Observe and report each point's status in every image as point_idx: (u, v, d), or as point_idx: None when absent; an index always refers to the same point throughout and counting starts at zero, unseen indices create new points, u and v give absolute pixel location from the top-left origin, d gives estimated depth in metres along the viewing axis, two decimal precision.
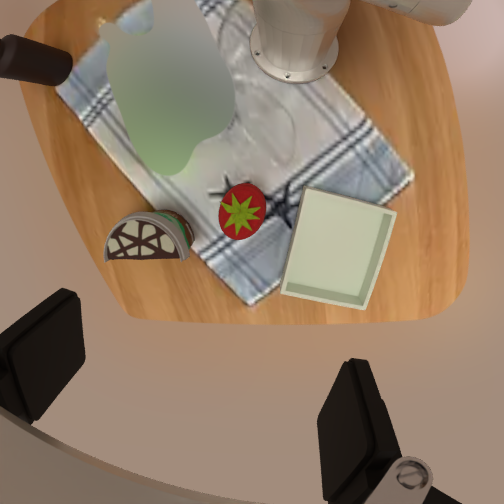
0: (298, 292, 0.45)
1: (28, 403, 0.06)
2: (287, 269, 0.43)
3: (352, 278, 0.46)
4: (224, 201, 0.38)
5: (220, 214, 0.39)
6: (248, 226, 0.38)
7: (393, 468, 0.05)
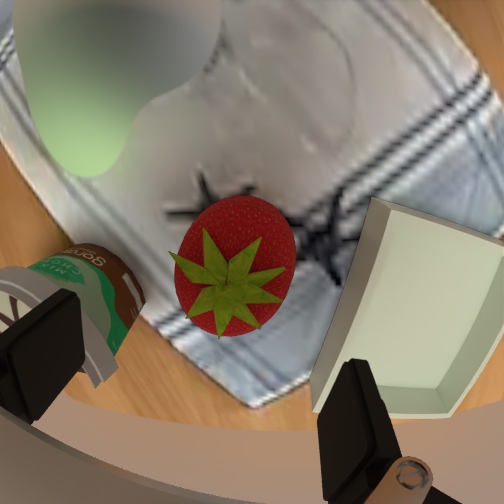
0: None
1: (28, 403, 0.06)
2: (331, 376, 0.19)
3: (434, 364, 0.22)
4: (185, 247, 0.14)
5: (177, 279, 0.15)
6: (250, 319, 0.14)
7: (393, 468, 0.05)
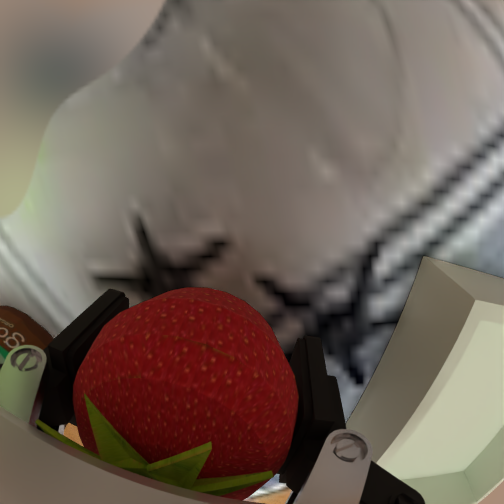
0: None
1: None
2: None
3: (467, 451, 0.14)
4: (76, 398, 0.06)
5: None
6: None
7: (329, 438, 0.06)
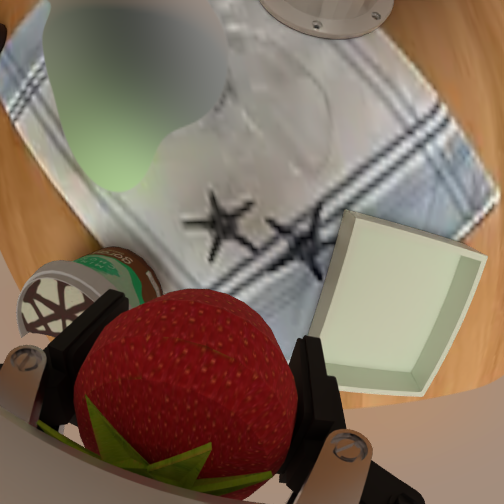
0: None
1: None
2: None
3: (406, 349, 0.28)
4: (77, 399, 0.06)
5: None
6: None
7: (329, 438, 0.06)
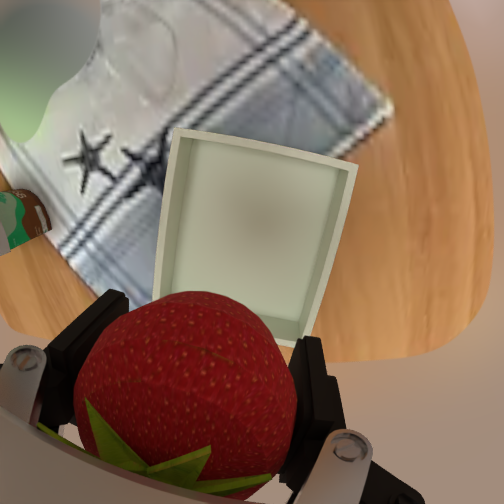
0: None
1: None
2: (156, 274, 0.24)
3: (284, 291, 0.27)
4: (77, 401, 0.06)
5: None
6: None
7: (329, 438, 0.06)
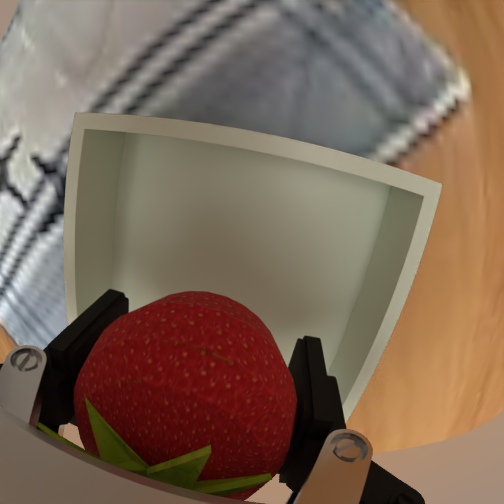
0: None
1: None
2: None
3: None
4: (77, 401, 0.06)
5: None
6: None
7: (329, 438, 0.06)
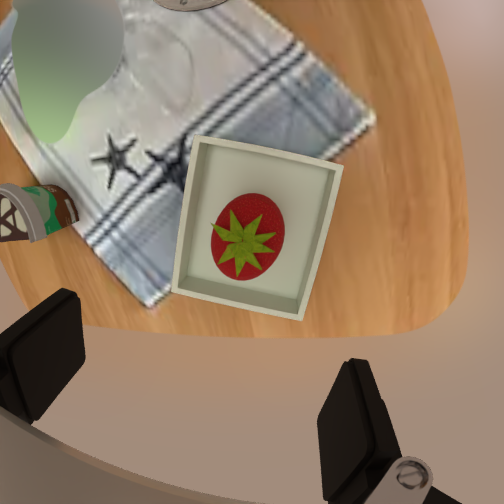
0: (197, 291, 0.30)
1: (28, 403, 0.06)
2: (176, 256, 0.29)
3: (284, 272, 0.32)
4: (219, 222, 0.24)
5: (213, 242, 0.25)
6: (256, 263, 0.24)
7: (393, 468, 0.05)
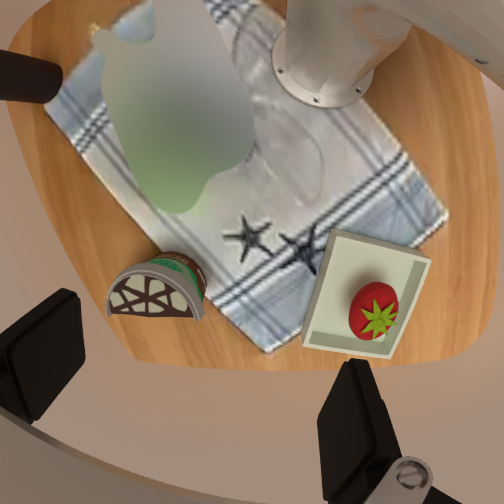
0: (322, 344, 0.40)
1: (28, 403, 0.06)
2: (311, 322, 0.38)
3: None
4: (361, 305, 0.33)
5: (355, 318, 0.34)
6: (385, 331, 0.33)
7: (393, 468, 0.05)
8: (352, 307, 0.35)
